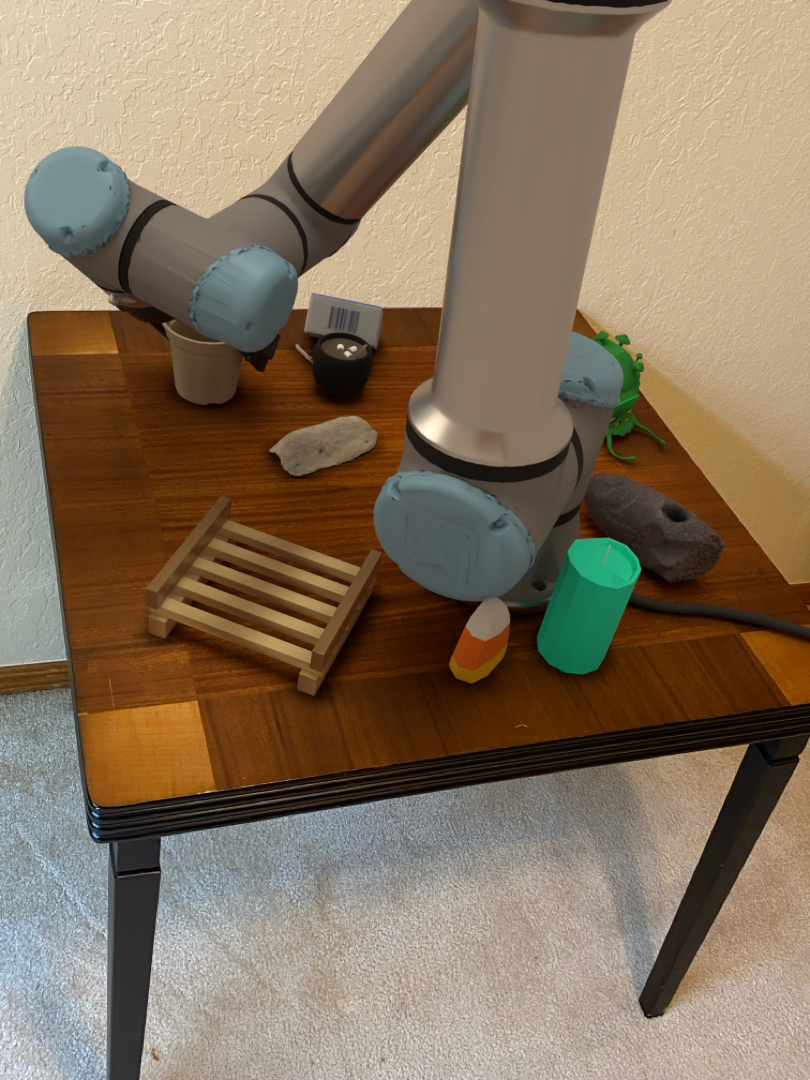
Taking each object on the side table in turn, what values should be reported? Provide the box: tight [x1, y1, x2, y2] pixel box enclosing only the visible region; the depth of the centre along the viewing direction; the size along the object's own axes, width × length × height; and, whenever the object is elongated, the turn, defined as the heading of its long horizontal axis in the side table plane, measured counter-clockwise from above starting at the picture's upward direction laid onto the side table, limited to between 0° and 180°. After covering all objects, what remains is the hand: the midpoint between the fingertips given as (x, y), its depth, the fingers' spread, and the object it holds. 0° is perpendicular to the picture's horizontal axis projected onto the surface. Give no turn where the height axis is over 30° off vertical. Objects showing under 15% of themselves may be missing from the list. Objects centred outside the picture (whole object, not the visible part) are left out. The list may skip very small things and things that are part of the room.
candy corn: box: [448, 597, 511, 685], centre depth 87 cm, size 6×3×8 cm, turn 138°
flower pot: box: [162, 320, 244, 406], centre depth 110 cm, size 9×9×9 cm
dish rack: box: [145, 495, 383, 697], centre depth 88 cm, size 15×13×5 cm
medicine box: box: [303, 292, 384, 350], centre depth 119 cm, size 8×4×9 cm
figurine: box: [577, 330, 666, 462], centre depth 117 cm, size 13×15×10 cm
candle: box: [536, 537, 642, 675], centre depth 89 cm, size 6×6×12 cm
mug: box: [294, 332, 373, 398], centre depth 115 cm, size 12×6×8 cm, turn 37°
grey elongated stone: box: [268, 415, 379, 477], centre depth 108 cm, size 12×5×4 cm
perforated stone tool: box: [583, 472, 726, 584], centre depth 102 cm, size 15×5×7 cm, turn 40°
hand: (220, 344), depth 112 cm, fingers closed on flower pot, 9 cm apart
